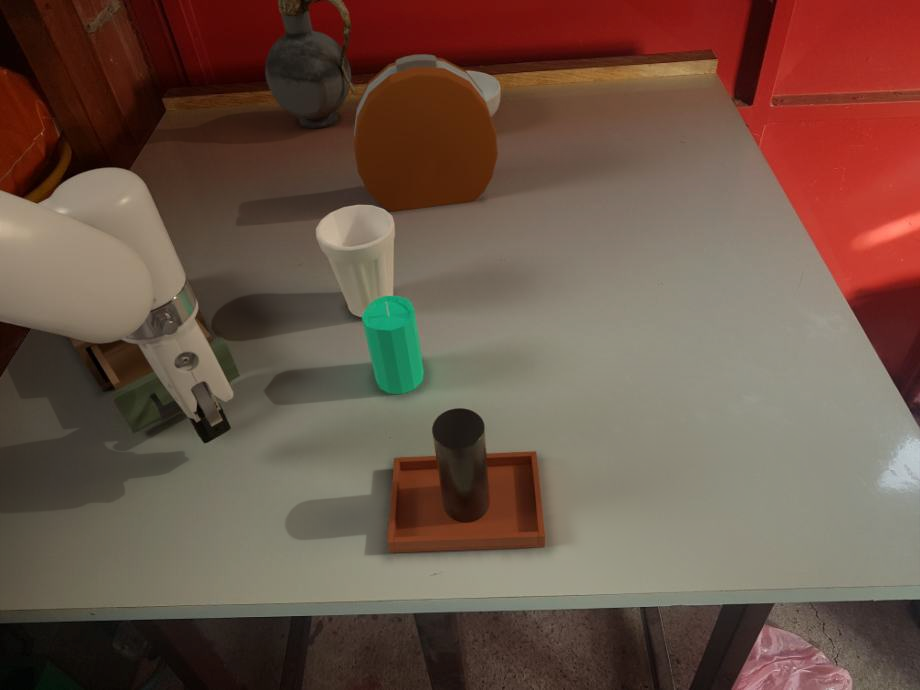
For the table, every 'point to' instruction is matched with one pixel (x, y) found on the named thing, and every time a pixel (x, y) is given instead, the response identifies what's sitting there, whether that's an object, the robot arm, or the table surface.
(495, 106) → the cereal bowl
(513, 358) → the table surface
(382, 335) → the candle
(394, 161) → the alarm clock
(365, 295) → the cup
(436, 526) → the tray
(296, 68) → the pitcher
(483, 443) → the cylinder
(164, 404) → the drawer
